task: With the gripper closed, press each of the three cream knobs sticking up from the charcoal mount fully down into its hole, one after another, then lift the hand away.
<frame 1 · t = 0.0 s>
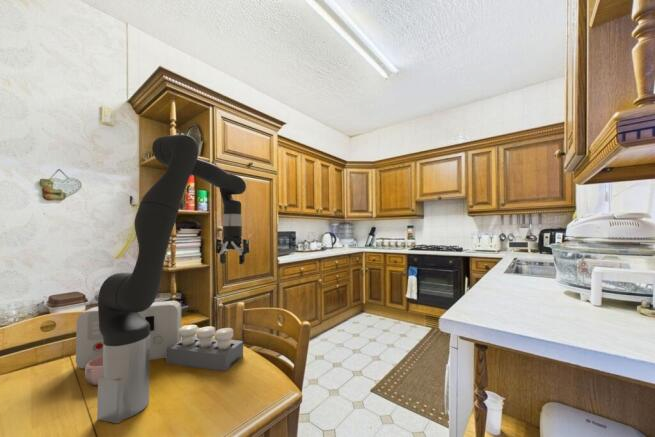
hand: (232, 263, 109), 29 cm above the table, tool pointing down, fingers open, 8 cm apart
knob b: (205, 338, 88), point 7 cm above the table, slide at 2.5 cm
knob a: (224, 340, 87), point 7 cm above the table, slide at 2.5 cm
rounded white slab: (132, 359, 89), on the table
mount: (205, 359, 88), on the table
mug: (111, 377, 78), on the table
knob c: (188, 336, 90), point 7 cm above the table, slide at 2.5 cm
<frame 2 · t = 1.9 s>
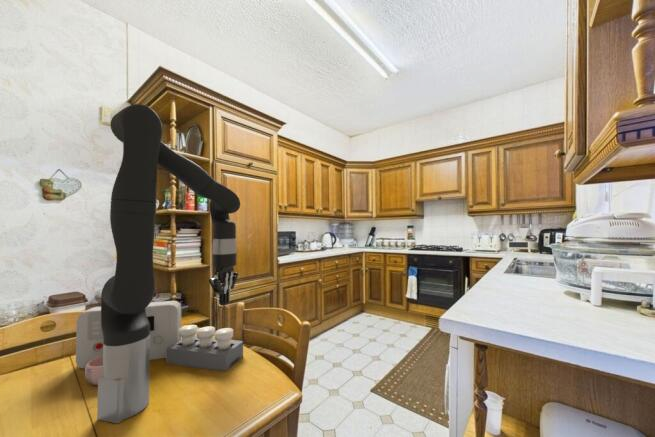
hand: (224, 304, 87), 19 cm above the table, tool pointing down, fingers closed
nothing on the table moved.
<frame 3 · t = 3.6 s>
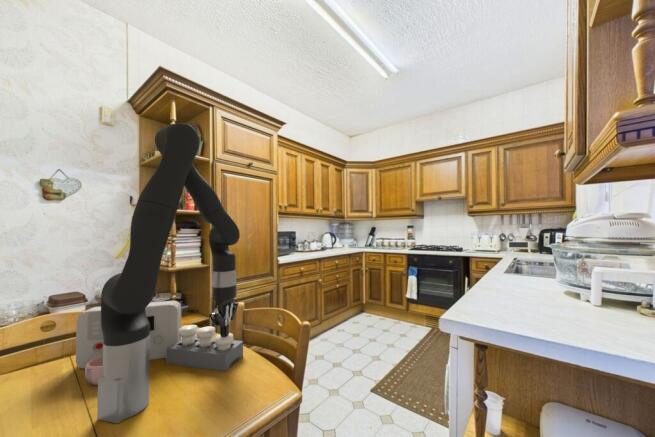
hand: (224, 336, 87), 8 cm above the table, tool pointing down, fingers closed
knob a: (224, 345, 87), point 5 cm above the table, slide at 0.9 cm, touching gripper
everything else where it was.
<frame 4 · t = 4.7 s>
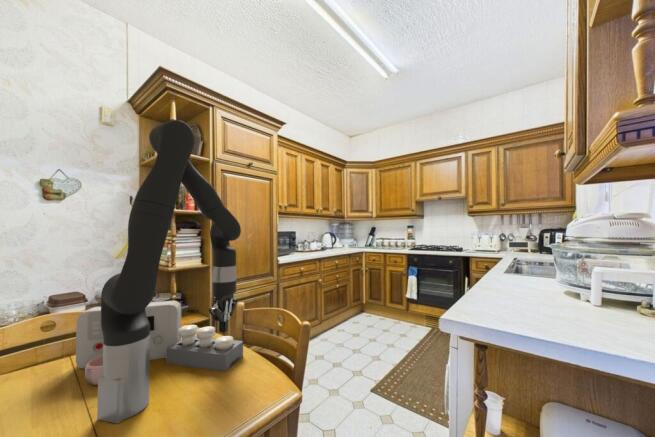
hand: (223, 331, 87), 10 cm above the table, tool pointing down, fingers closed
knob a: (224, 348, 87), point 4 cm above the table, slide at -0.2 cm
everything else where it was.
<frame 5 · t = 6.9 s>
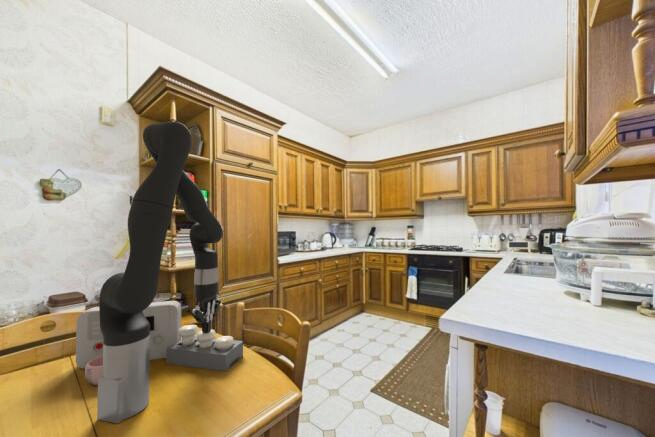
hand: (206, 332, 89), 9 cm above the table, tool pointing down, fingers closed
knob b: (205, 341, 88), point 6 cm above the table, slide at 1.5 cm, touching gripper
everything else where it was.
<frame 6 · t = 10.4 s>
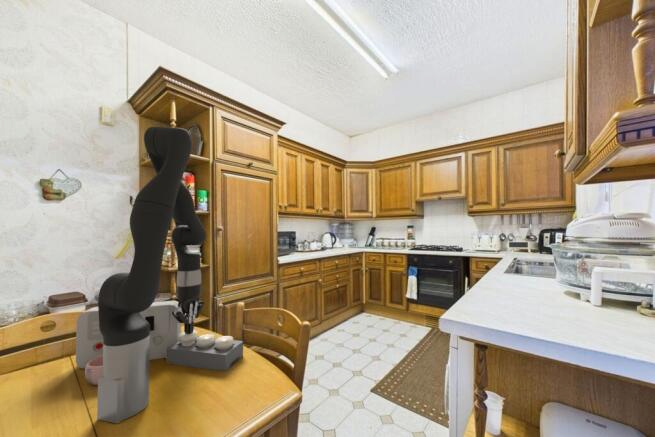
hand: (189, 333, 90), 8 cm above the table, tool pointing down, fingers closed
knob b: (205, 346, 88), point 4 cm above the table, slide at -0.2 cm
knob c: (188, 342, 90), point 5 cm above the table, slide at 0.6 cm, touching gripper
everything else where it was.
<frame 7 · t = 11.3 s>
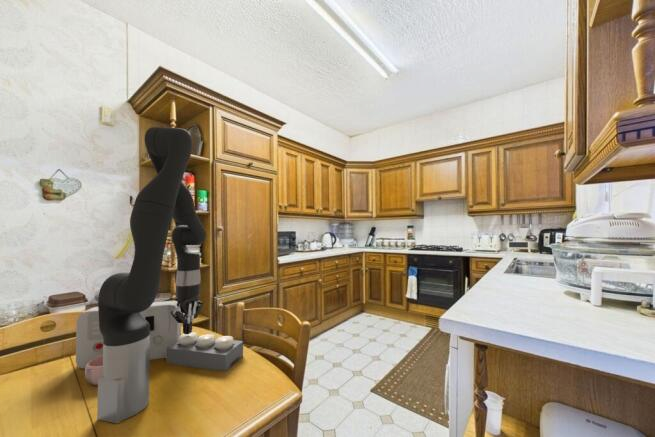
hand: (187, 333, 90), 8 cm above the table, tool pointing down, fingers closed
knob c: (188, 344, 90), point 4 cm above the table, slide at -0.2 cm
everything else where it was.
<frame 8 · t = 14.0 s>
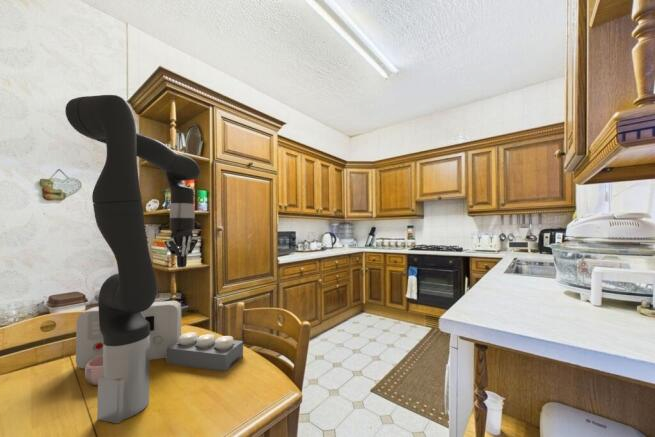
hand: (181, 267, 90), 31 cm above the table, tool pointing down, fingers closed
nothing on the table moved.
at the end: knob a slide at -0.2 cm; knob b slide at -0.2 cm; knob c slide at -0.2 cm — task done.
